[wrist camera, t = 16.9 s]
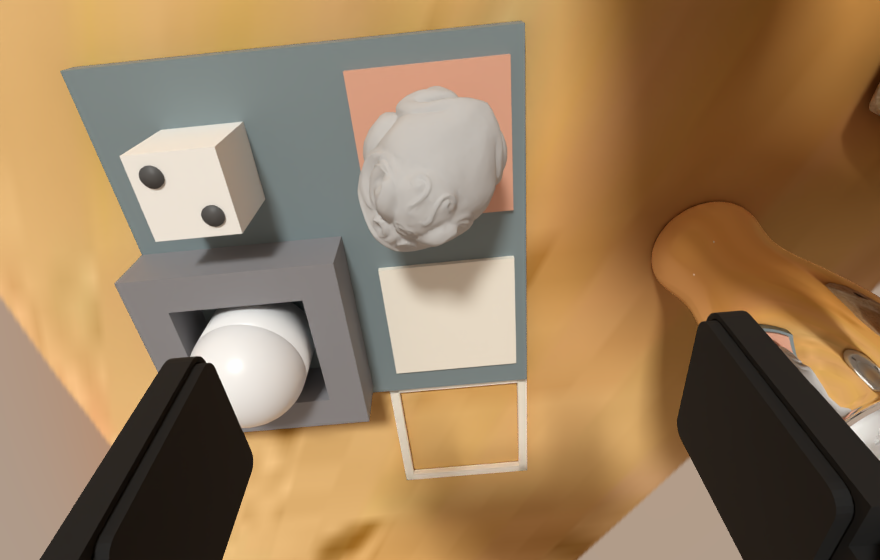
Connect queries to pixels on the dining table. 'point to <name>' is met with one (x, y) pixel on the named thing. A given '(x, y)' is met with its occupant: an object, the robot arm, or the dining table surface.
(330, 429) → the dining table surface
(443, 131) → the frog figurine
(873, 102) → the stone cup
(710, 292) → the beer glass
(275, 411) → the dome button
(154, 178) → the game board
